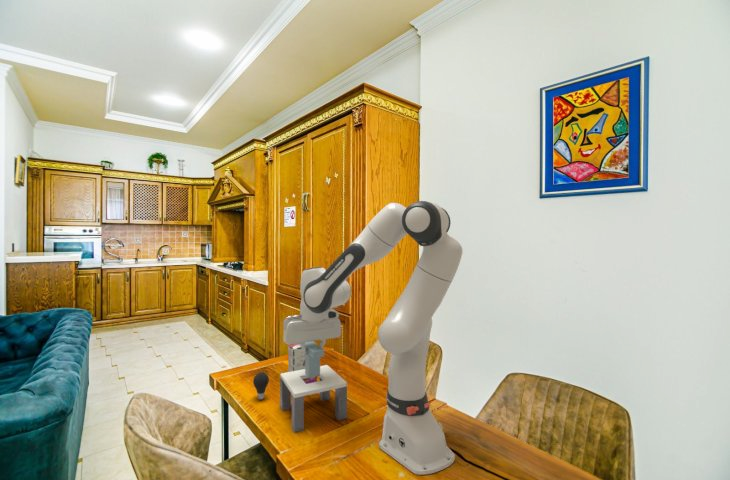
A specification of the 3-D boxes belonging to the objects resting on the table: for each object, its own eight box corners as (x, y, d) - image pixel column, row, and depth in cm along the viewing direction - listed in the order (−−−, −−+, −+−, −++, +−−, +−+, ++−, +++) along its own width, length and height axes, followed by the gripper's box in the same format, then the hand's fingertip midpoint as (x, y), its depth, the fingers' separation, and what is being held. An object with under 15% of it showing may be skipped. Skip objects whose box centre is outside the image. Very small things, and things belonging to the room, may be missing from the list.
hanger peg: (324, 380, 110) (324, 350, 110) (312, 382, 108) (313, 352, 108) (312, 367, 120) (312, 340, 120) (301, 369, 119) (301, 342, 119)
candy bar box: (310, 378, 143) (311, 340, 143) (317, 381, 139) (317, 343, 139) (287, 385, 135) (287, 345, 135) (293, 389, 132) (293, 348, 132)
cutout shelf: (346, 418, 110) (346, 382, 110) (294, 432, 102) (294, 394, 102) (326, 396, 126) (327, 364, 126) (280, 406, 118) (280, 373, 118)
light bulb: (264, 403, 120) (264, 376, 120) (250, 402, 121) (250, 375, 121) (271, 396, 126) (271, 370, 126) (258, 395, 127) (258, 369, 127)
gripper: (285, 318, 107) (285, 361, 106) (343, 312, 116) (342, 351, 116) (280, 314, 112) (280, 355, 112) (336, 309, 122) (335, 346, 122)
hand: (312, 353), depth 114 cm, fingers closed on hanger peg, 4 cm apart
